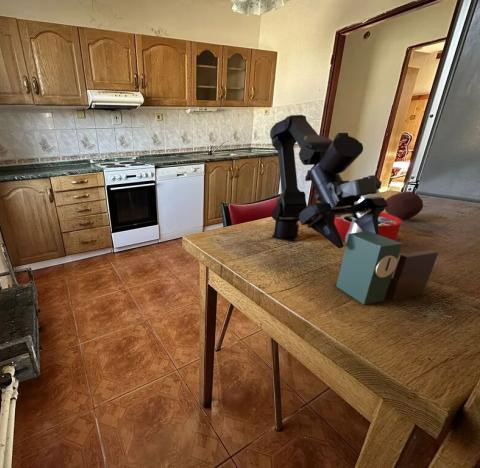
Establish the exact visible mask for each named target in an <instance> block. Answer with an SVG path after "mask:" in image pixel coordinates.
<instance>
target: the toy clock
mask: <svg viewBox="0 0 480 468" xmlns="http://www.w3.org/2000/svg"><path fill="white" fill-rule="evenodd" d="M351 222H352V215H351V214H342V215H335V219H334V223H335V225H336V228H337V230H338V232H339V235H340V237H341V239H342V240H345V237H346V234H347V232H348V231H349V228H350V225H351ZM402 222H403V221H402V219H399V218H398V217H396V216H393V215H390V214H388V213H387V212H384V211H382V212H381V213H380V215H379V217H378V228H379V235H380V236H383V237H386V238H389V239H391V240H394V241H397V239H398V235H399V232H400V229H401V227H402Z"/></svg>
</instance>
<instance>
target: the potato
mask: <svg viewBox="0 0 480 468" xmlns="http://www.w3.org/2000/svg"><path fill="white" fill-rule="evenodd" d="M385 201H386V202H387V204H388V206H387V207H385V209H384V211H385V213H387V214H390V215H393V216H396V217H398V218H399V219H401V220H407V219H411V218H414V217H415V216H417V215H419V213H421V211H422V210H423V207H424V203H423V200H422V198H421V197H420V196H419V195H418V194H417V193H415V192H411V191H403V192H402V191H401V192H399V193H396V194H395V193H394V194H393V195H391V196H389V197H387V198H386V199H385Z"/></svg>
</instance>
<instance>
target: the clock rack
mask: <svg viewBox="0 0 480 468" xmlns="http://www.w3.org/2000/svg"><path fill="white" fill-rule="evenodd" d="M438 255H439V251H437V250H434V249H428V250H423V251H415V252H409V253H402V254H399V257H398V260H397V265H396V268H395V269H394V271H393V274H392V277H391V280H390V283H389V286H388V289H387V292H386V295H385V298H388V299H389V300H392V301H397V300H400V299H406V298H411V297H416V296H422V295H423V294H424V292H425V289H426V286H427V284H428V282H429V278H430V276H431V274H432V271H433V269H434V266H435V263H436V261H437V259H438Z"/></svg>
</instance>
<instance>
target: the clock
mask: <svg viewBox="0 0 480 468" xmlns="http://www.w3.org/2000/svg"><path fill="white" fill-rule="evenodd" d="M402 246H403V243H402V242H400V241H397V240H396V241H394V240H391V239H389V238H386V237H383V236H380V235H378V234H375V233H372V232H369V231H366V232H358V233H350V234H349V235H348V239H347V243H345V248H344V252H343V256H342V260H341V264H340V269H339V272H338V276H337V280H336V285H335V287H336V288H338V289H340V290H341V291H342V292H344V293H346V294H347V295H349V296H350V297H351V298H353V299H354V300H356V301H358V302H359V303H361V304H362V305H369V304H375V303H379V302H384V301H385V298H386V296H385V295H386V292H387V289H388V286H389V283H390V280H391V277H392V274H393V271H394V269H395V268H396V265H397V262H398V260H399V257H400V253H401V249H402V248H403V247H402Z"/></svg>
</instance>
